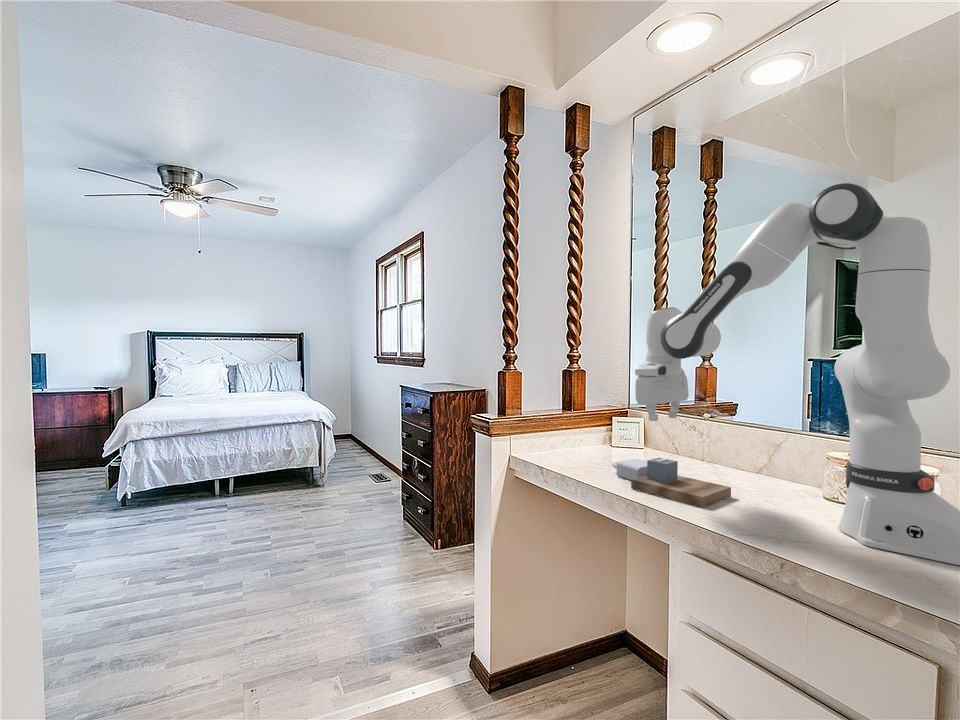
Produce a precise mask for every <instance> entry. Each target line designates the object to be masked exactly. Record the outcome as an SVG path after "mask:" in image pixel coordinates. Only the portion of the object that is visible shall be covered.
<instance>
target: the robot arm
mask: <svg viewBox="0 0 960 720" xmlns="http://www.w3.org/2000/svg"><path fill="white" fill-rule="evenodd" d="M815 243H816V244H817V245H819V246H824V247H830V248H834V249H837V250H855V249H856V251H857V253H858V271H857V282H856V284H857V285H856V297H855V315H856V317H857V318H858V319H859V321H860V324H861V326H862V331H863V335H864V336H863V337H864V341H865V343H863V344H858V345H856V346H853V347H850V348H849V349H847V350H845V351H843V352H842V353H840V355H839V356H838V357H837V359H836V361H835V363H834V369H833V370H834V375H835V377H836V379H837V380H838V382H839V384H840V386H841V390H842V395H843V398H844V399H843V400H844V403H845V408H846V413H847V419H848V425H849V426H848V427H849V457H848V458H849V461H847V462H846V467H845V484H846V488H847V493H846V499H845V504H844V509H843V513H842V515H841V516H842V517H841V518H840V521H839V524H838V529H839V530H840V531H841V532H842V533H844V534H846V535H848V536H850V537H852V538H854V539H856V540H857V541H858V542H859V543H860V544H862V545H863V546H867V547H871V548H875V549H880V550H885V551H890V552H895V553H899V554H904V555H908V556H915V557H918V558H923V559H927V560H928V559H929V560H931V561H932V560H933V561H937V562H942V563H947V564H951V565H956V566H960V510H959V509H958V508H956V507H955V506H954V505H953V504H951V503H950V502H948V501H946V500H945V499H944V498H943V497H941V496H940V495H938V494H937V493H936V492H934V491H935V481H936V480H935V478H936V477H935V475H934V474H931V475H930V474H929V473H928V472H926V471H925V470H923V469H921V462H922V461H921V459H922V457H921V456H922V455H921V454H922V453H921V451H922V432H921V428H920V426H919V425H918V424H917V422H916V421H915V419H914V417H913V415H912V412H911V410H910V406H909V402H908V401H915V400H921V399H926V398H929V397H933V396H935V395H937V394H939V393H940V392H941V391H942V390H944V389H945V388H946V386H947V384H948V382H949V381H950V377H951V366H950V364H949V362H948V360H947V358H946V357H945V356H944V355H943V354H942V353H941V352H940V350H939V349H938V347H937V345H936V343H935V339H934V335H933V330H932V327H931V324H930V323H931V321H930V316H929V297H930V296H929V293H930V279H931V265H932V264H931V263H932V260H931V259H932V257H931V244H930V237H929V232H928V228H927V226H926V224H925V223H924V222H923V221H922V220H919V219H917V218H914V217H909V216H894V217H892V216H891V217H887V216H885V215H884V210H883V209H882V208H881V207H880V205H879V203H878V201H877V199H876V198H875V197H874V196H873V195H872V194H871V193H870V191H869V190H868V189H866V188H864V187H863V186H861V185H858V184H856V183H855V184H854V183H849V182H848V183H846V182H844V183H838V184H833V185H830V186H827V187H826V188H825V189H823V190H822V191H821V192H819V193H818V194H817V195H816V196H815V197H814V199H813V200H812V202H811V204H810V205H809V206H807V205H805V204H803V203H799V202H786V203H783V204H781V205H779V206H778V207H777V208H776V209H774V210H773V211H772V212H771V213H770V214H769V215H768V216H767V217H766V218H765V219H764V220H763V221H762V222H760V224H759V225H758V226H757V227H756V228H755V229H754V230H753V232H752V233H751V234H750V235H749V237H748V238H747V239H746V240H745V241H744V243H743V244H742V246H741V247H740V248H739V249H738V251H737V252H736V254H734V256H733V257H732V258H731V260H730V261H729V262H728V263H727V264H726V265H725V267H723V269H722V270H721V271H720V272H719V274H717V275H716V277H715V278H714V279H713V280H712V281H711V282H710V283H709V284H708V285H707V286H706V287H705V289H703V291H702V292H701V293H700V294H699V295H698V296H697V297H696V299H695V300H694V301H693V302H692V303H691V304H690V306H688V308H686V309H685V310H684V311H681V310H680V309H679V308H677V307H671V306H670V307H664V308H663V307H662V308H659V309H656V310H654V311H652V312H651V313H650V314H649V316H648V318H647V325H646V333H645V334H646V337H645V339H646V340H645V342H646V345H647V353H646V356H645V357H646V361H644V362H643V363H642V364H640V365H638V366H636V367H635V369H634V374H635V376H637V377H636V379H635V394H634V395H635V401H636V403H637V404H638V405H642V406H643V405H644V406H645V409H646V411H647V414H648V420H649V422H658V420H659V419H658V418H659V417H658V416H659V414H658V413H656V410H655V409H657V408H656V407H657V405H659V404H667V403H669V405H670V409H669V411H668V412H667V413H668V416H667V417H668V418H669V419H676V418H678V411H679V408H680V406H681V402H685V401H687V400H688V397H689V385H688V384H689V382H688V377H687V375H686V372H685V371H684V370H683V368H682V359H683V360H685V359H687V358H694V357H703V356H708V355H710V354H712V353H714V352H715V351H716V350H717V349H718V347H719V346H720V344H721V337H722V336H721V332H720V330H719V328H718V327H717V325H716V324H715V323H713V322H714V321H715V320H716V319H717V318H718V317H719V316H720V315H721V314H722V313H723V312H724V311H725V310H726V308H727V307H728V306H730V304H731V303H732V302H734V300H736V299H737V298H738V297H740V296H743V294H745V293H748V292H751V291H754V290H757V289H761V288H763V287H767V286H769V285H771V284H772V283H773V282H774V281H776V280H777V279H778V278H779V277H780V276H781V275H783V274H784V273H785V272H786V270H788V268H789V267H790V266H791V265H792V263H794V261H795V260H796V259H797V258H798V257H799V256H800V254H801V253H803V251H804V250H805V249H806V248H808V247H809V246H811V245H812V244H815Z"/></svg>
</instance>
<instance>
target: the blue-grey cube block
mask: <svg viewBox="0 0 960 720" xmlns="http://www.w3.org/2000/svg"><path fill="white" fill-rule="evenodd" d="M646 461H647V479H651V480H655V481H659V482H663V483H668V482H671V481H675V480H677V475H678V471H679V470H678V469H679V468H678V467H679V466H678V464H679V463H678V461H677V460H673V459H668V458H662V457H655V458H651V459H648V460H646Z"/></svg>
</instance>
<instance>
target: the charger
mask: <svg viewBox="0 0 960 720" xmlns="http://www.w3.org/2000/svg"><path fill="white" fill-rule="evenodd" d="M611 464H612V465H611V466H612V468H613V469H616V476H617V477H619V478H622V479H626V480H629V481H631V479H635V478H638V477H642V476H646V475H647V460H643V459H640V458H632V459H624V460H619V461H618V460H617V461H615V462H612V463H611Z"/></svg>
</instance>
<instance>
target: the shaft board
mask: <svg viewBox="0 0 960 720" xmlns="http://www.w3.org/2000/svg"><path fill="white" fill-rule="evenodd" d="M630 488H633V489H632V490H635V489H637V490H636V491H638V490H640V491H639V492H642V491H644V492H643V493H646V492H648V493H647V494H650V493H651V494H650V495H653V494H655V495H654V496H657V495H659V496H658V497H661V496H663V497H662V498H665V497H667V498H666V499H669V498H670V500H672V499H674V500H673V501H676V500H677V502H680V501H681V503H684V504H687V503H688V505H691V506H695V507H700V508H702V507H703V508H706V507H708V505H709V506H711V505H713V503H714V504H717V503H719V502H721V500H722V501H724V500H726V499H729V498H732V487H731V486H728V485H724V484H718V483H715V482H709V481H704V480H700V479H695V478H691V477H687V476H682V475H679V474H677V480H675V481H671V482H668V483H663V482H659V481H655V480H651V479H647V475H646V476H642V477H638V478H635V479H631V480H630ZM718 501H719V502H718ZM705 506H706V507H705Z"/></svg>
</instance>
